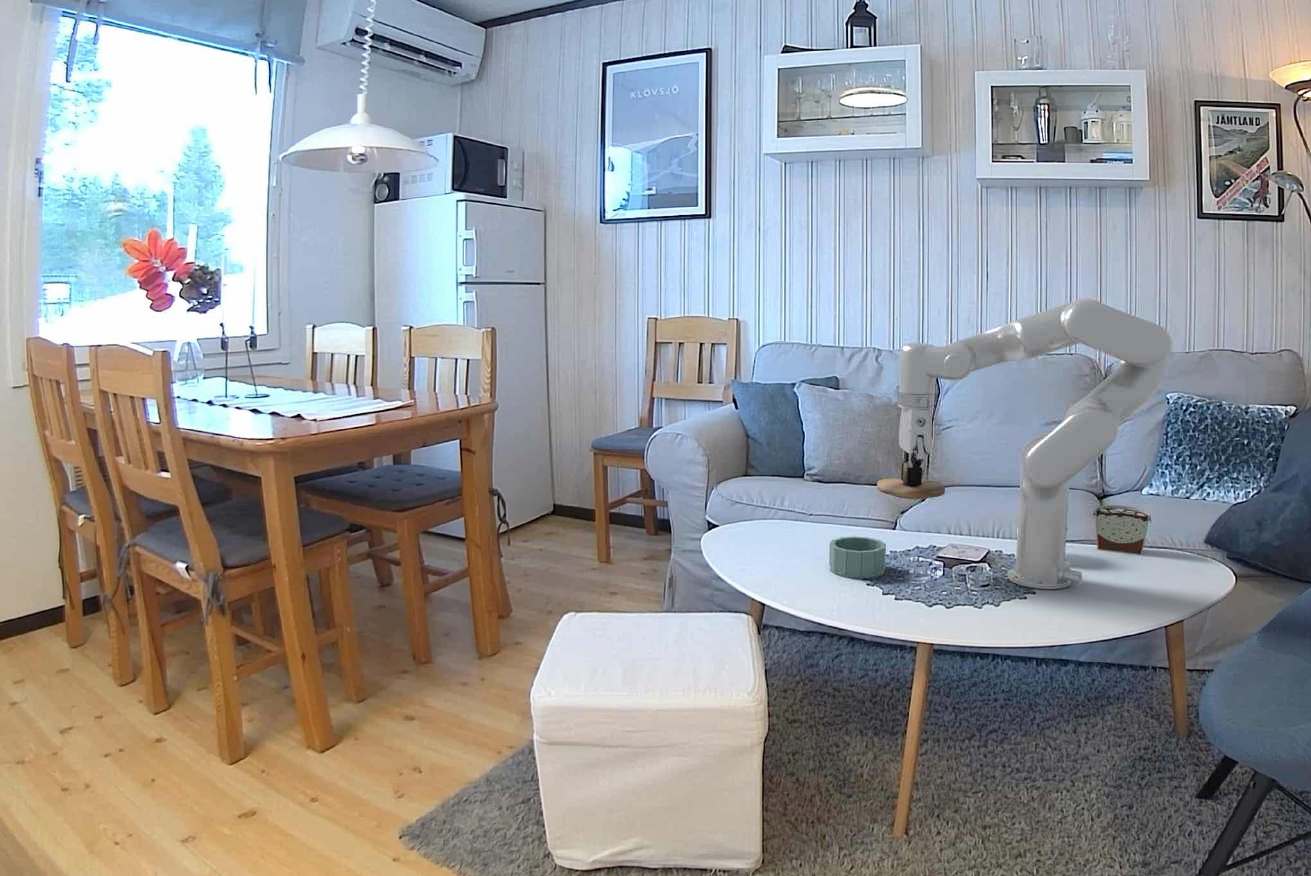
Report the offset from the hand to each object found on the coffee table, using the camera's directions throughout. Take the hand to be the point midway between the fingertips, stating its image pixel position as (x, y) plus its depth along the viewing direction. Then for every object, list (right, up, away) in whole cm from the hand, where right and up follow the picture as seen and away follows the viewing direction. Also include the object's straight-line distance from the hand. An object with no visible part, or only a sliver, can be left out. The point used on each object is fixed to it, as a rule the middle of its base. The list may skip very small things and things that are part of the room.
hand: (911, 482), depth 202 cm
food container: (+54, -17, +14) cm, 58 cm away
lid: (0, -3, 0) cm, 3 cm away
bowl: (-11, -20, +3) cm, 23 cm away
